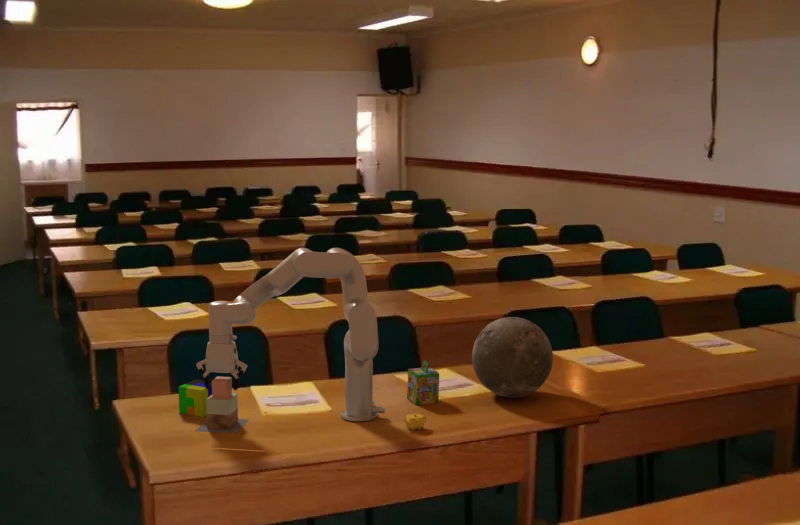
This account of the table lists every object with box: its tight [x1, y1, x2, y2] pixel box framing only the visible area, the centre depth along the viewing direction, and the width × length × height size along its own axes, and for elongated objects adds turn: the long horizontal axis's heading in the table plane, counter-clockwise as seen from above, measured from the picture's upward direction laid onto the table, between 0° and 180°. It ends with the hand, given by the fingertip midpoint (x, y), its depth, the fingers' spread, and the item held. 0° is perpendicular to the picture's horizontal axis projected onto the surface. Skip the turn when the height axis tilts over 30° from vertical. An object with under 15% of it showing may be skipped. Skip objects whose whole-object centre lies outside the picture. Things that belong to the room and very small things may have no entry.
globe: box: [471, 316, 554, 399], centre depth 330 cm, size 30×30×30 cm
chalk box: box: [406, 360, 440, 406], centre depth 324 cm, size 9×9×15 cm
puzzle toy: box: [177, 378, 212, 418], centre depth 310 cm, size 10×10×10 cm
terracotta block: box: [211, 375, 233, 399], centre depth 294 cm, size 5×5×6 cm
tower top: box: [206, 392, 239, 415], centre depth 295 cm, size 8×8×5 cm
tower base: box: [206, 408, 239, 430], centre depth 296 cm, size 8×8×5 cm
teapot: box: [402, 413, 427, 432], centre depth 295 cm, size 8×6×5 cm
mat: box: [194, 418, 250, 434], centre depth 296 cm, size 14×14×1 cm
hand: (222, 388), depth 294 cm, fingers open, 9 cm apart
